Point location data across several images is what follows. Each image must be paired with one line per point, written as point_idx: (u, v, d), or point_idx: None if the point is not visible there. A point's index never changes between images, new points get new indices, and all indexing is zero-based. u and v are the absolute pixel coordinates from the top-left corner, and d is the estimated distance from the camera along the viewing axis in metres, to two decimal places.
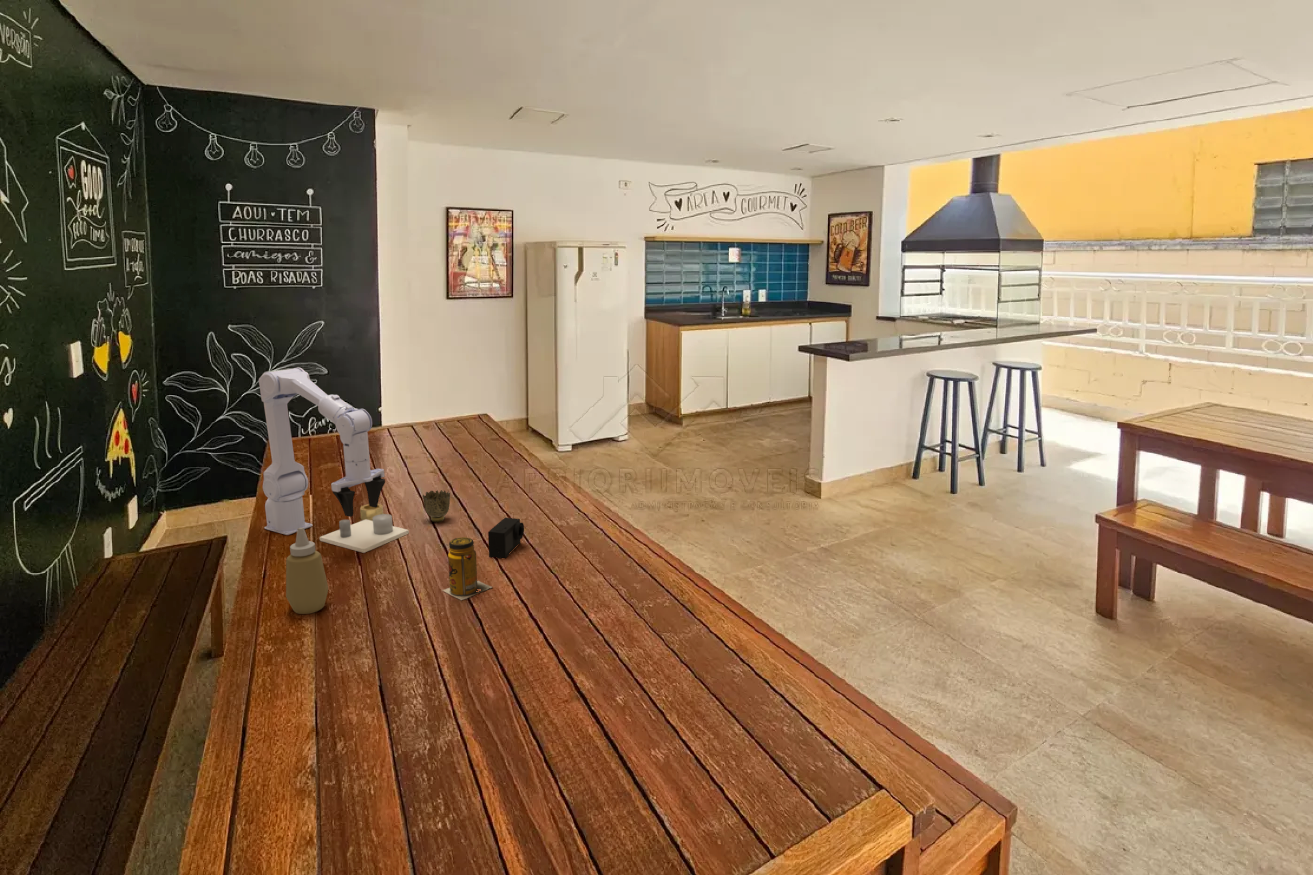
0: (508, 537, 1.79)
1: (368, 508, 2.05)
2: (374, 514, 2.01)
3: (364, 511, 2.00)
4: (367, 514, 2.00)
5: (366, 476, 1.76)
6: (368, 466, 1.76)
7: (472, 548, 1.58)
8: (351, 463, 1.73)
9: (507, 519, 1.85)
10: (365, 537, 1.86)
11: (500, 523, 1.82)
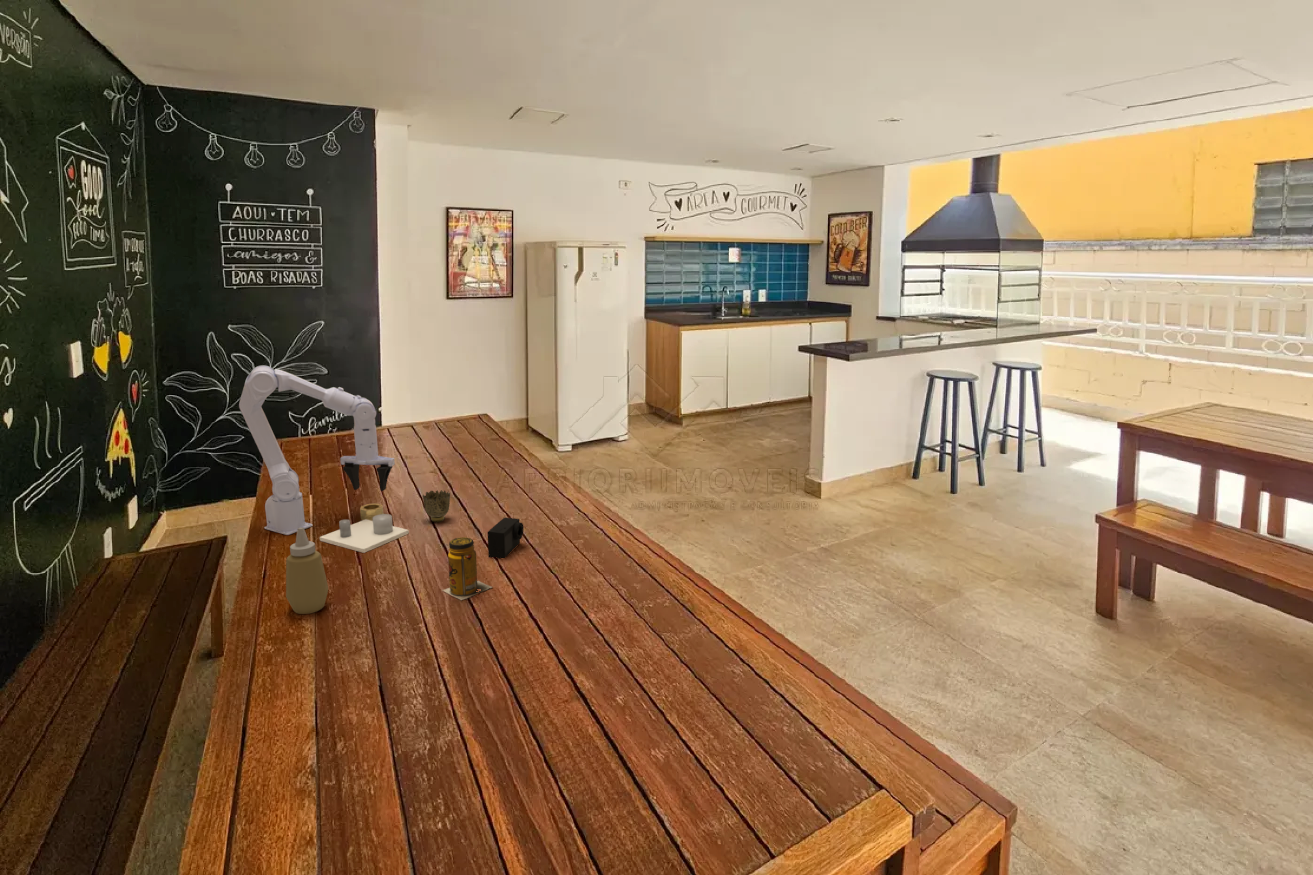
0: (507, 537, 1.79)
1: (368, 508, 2.05)
2: (374, 514, 2.01)
3: (364, 511, 2.00)
4: (367, 514, 2.00)
5: (362, 459, 1.96)
6: (365, 451, 1.96)
7: (472, 548, 1.58)
8: (355, 444, 1.97)
9: (507, 519, 1.85)
10: (365, 537, 1.86)
11: (499, 523, 1.82)
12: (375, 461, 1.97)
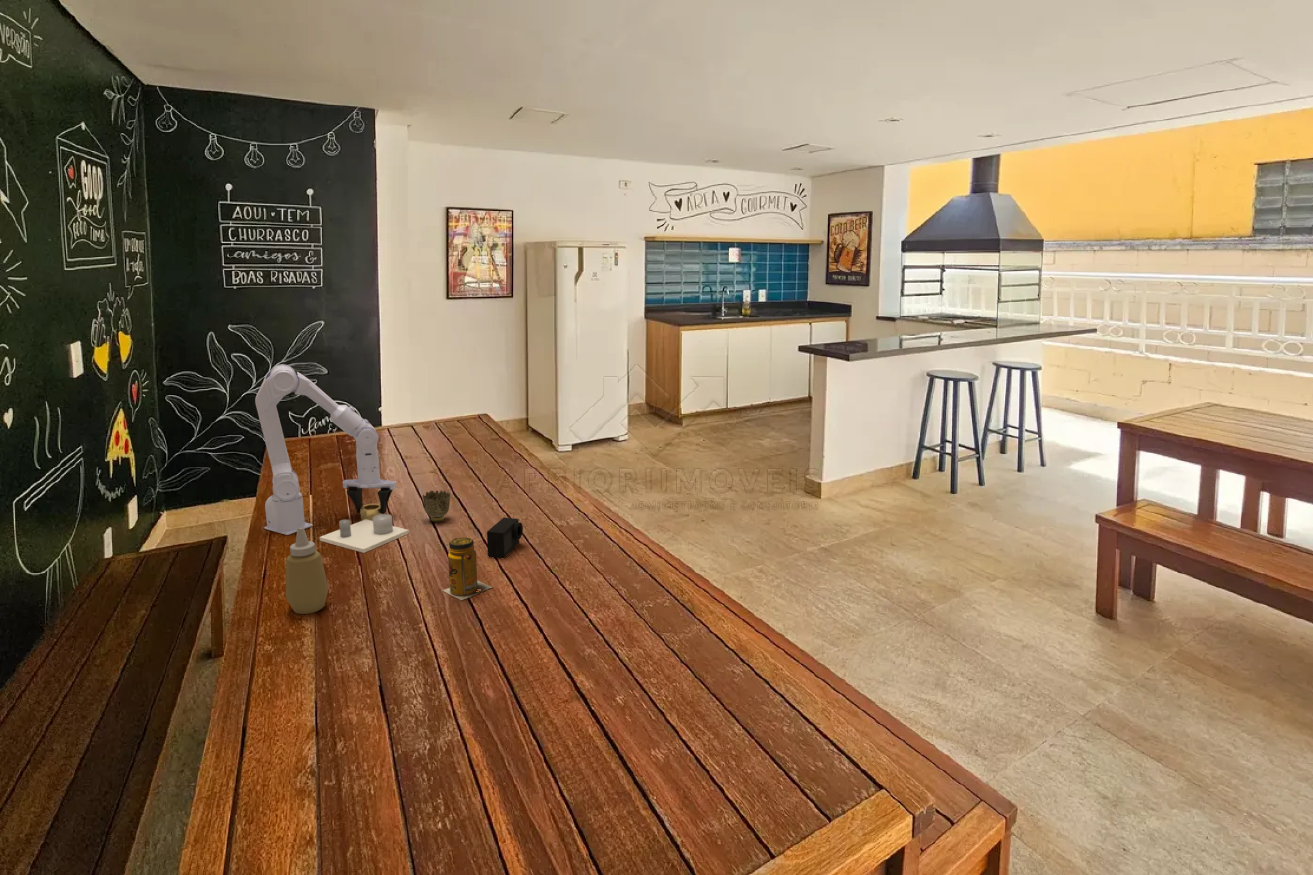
0: (507, 537, 1.79)
1: (368, 508, 2.05)
2: (374, 514, 2.01)
3: (364, 511, 2.00)
4: (367, 514, 2.00)
5: (364, 483, 1.98)
6: (368, 475, 1.98)
7: (472, 548, 1.58)
8: (357, 468, 1.99)
9: (506, 519, 1.85)
10: (365, 537, 1.86)
11: (499, 523, 1.82)
12: (377, 485, 1.99)
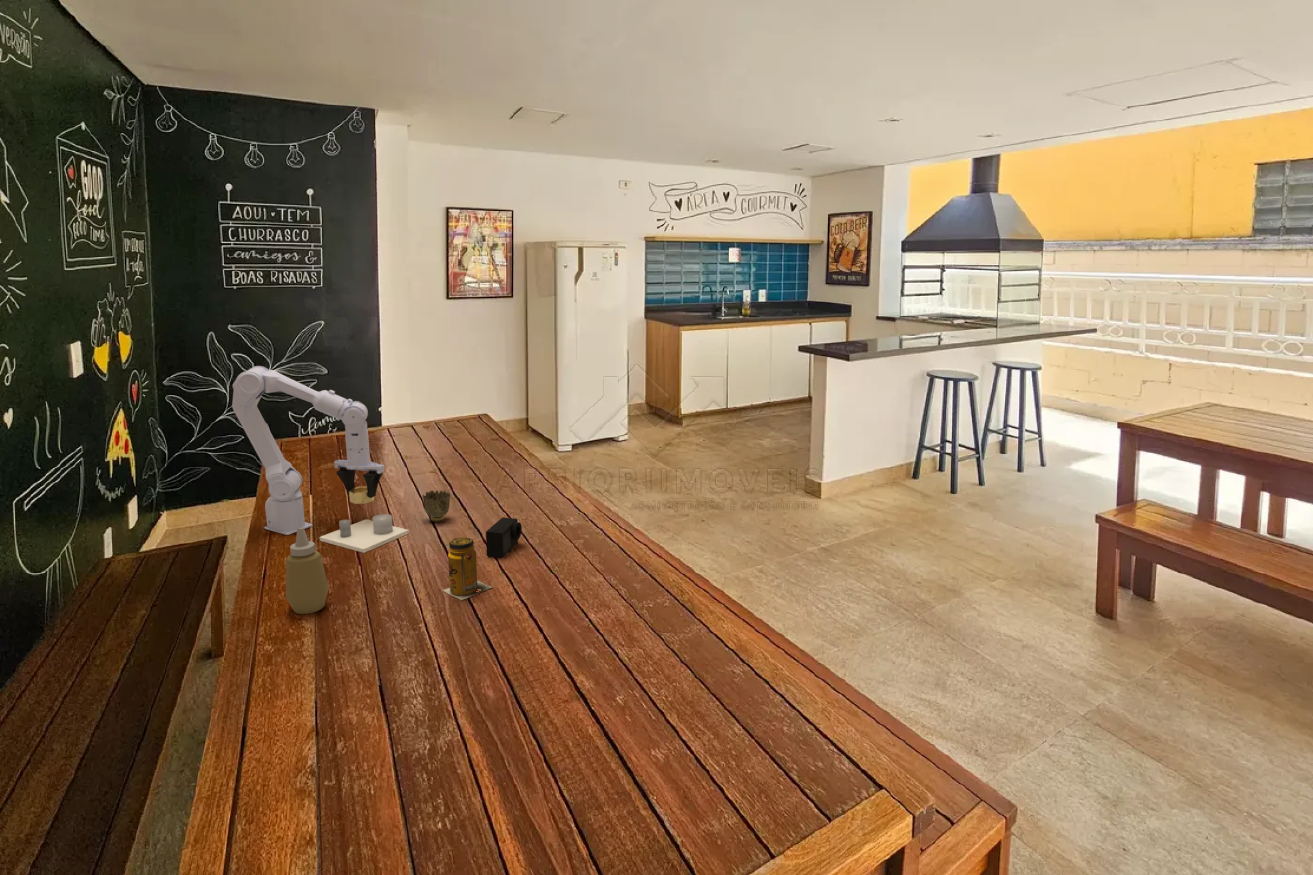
0: (506, 537, 1.79)
1: (360, 491, 1.98)
2: (361, 497, 1.94)
3: (352, 493, 1.94)
4: (354, 496, 1.93)
5: (351, 464, 1.91)
6: (354, 456, 1.91)
7: (472, 548, 1.58)
8: None
9: (505, 519, 1.85)
10: (365, 537, 1.86)
11: (498, 523, 1.82)
12: (364, 467, 1.91)
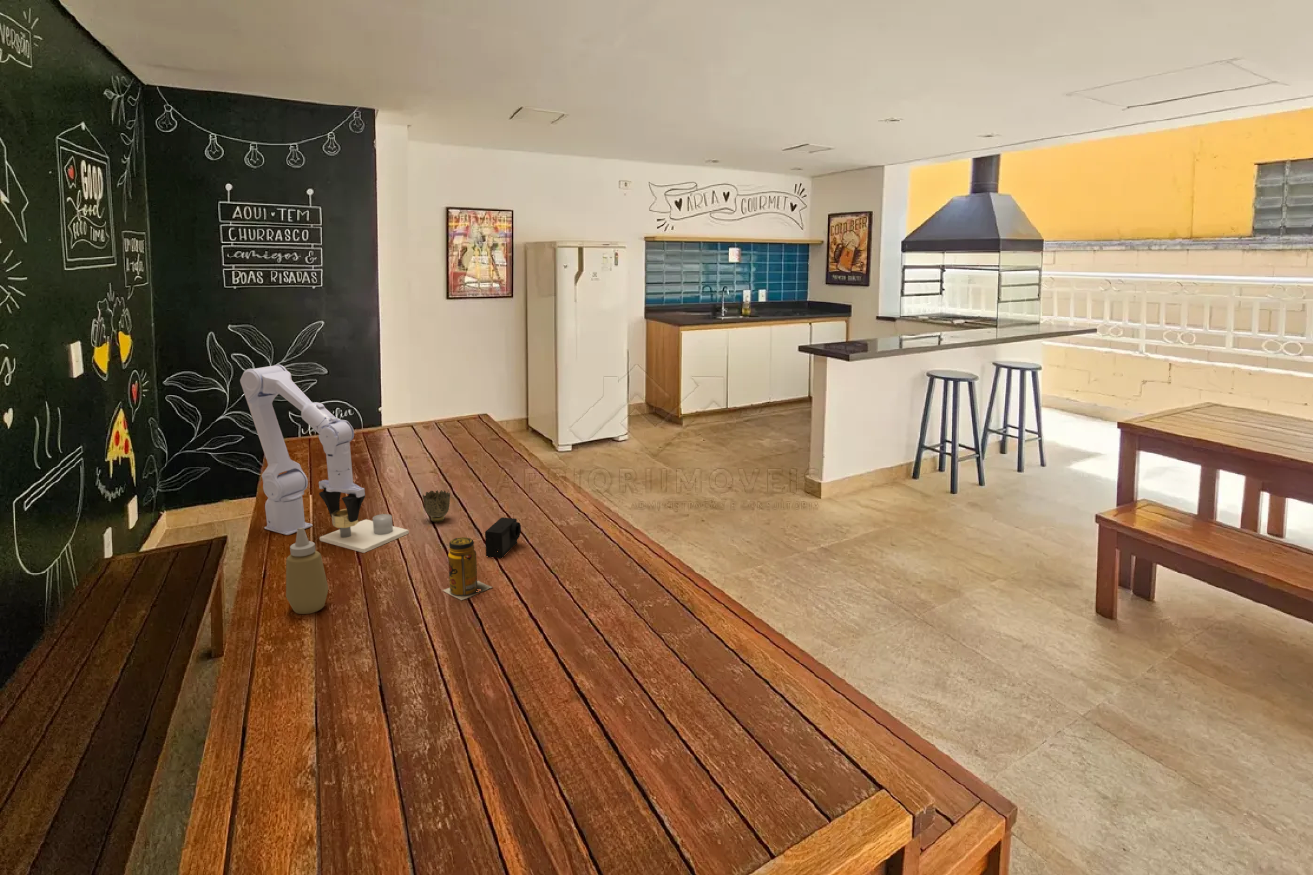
0: (505, 537, 1.79)
1: (344, 513, 1.88)
2: (342, 521, 1.83)
3: (333, 516, 1.84)
4: (335, 520, 1.83)
5: (331, 486, 1.81)
6: (334, 478, 1.81)
7: (472, 548, 1.58)
8: None
9: (504, 519, 1.85)
10: (365, 537, 1.86)
11: (497, 523, 1.82)
12: (343, 490, 1.81)
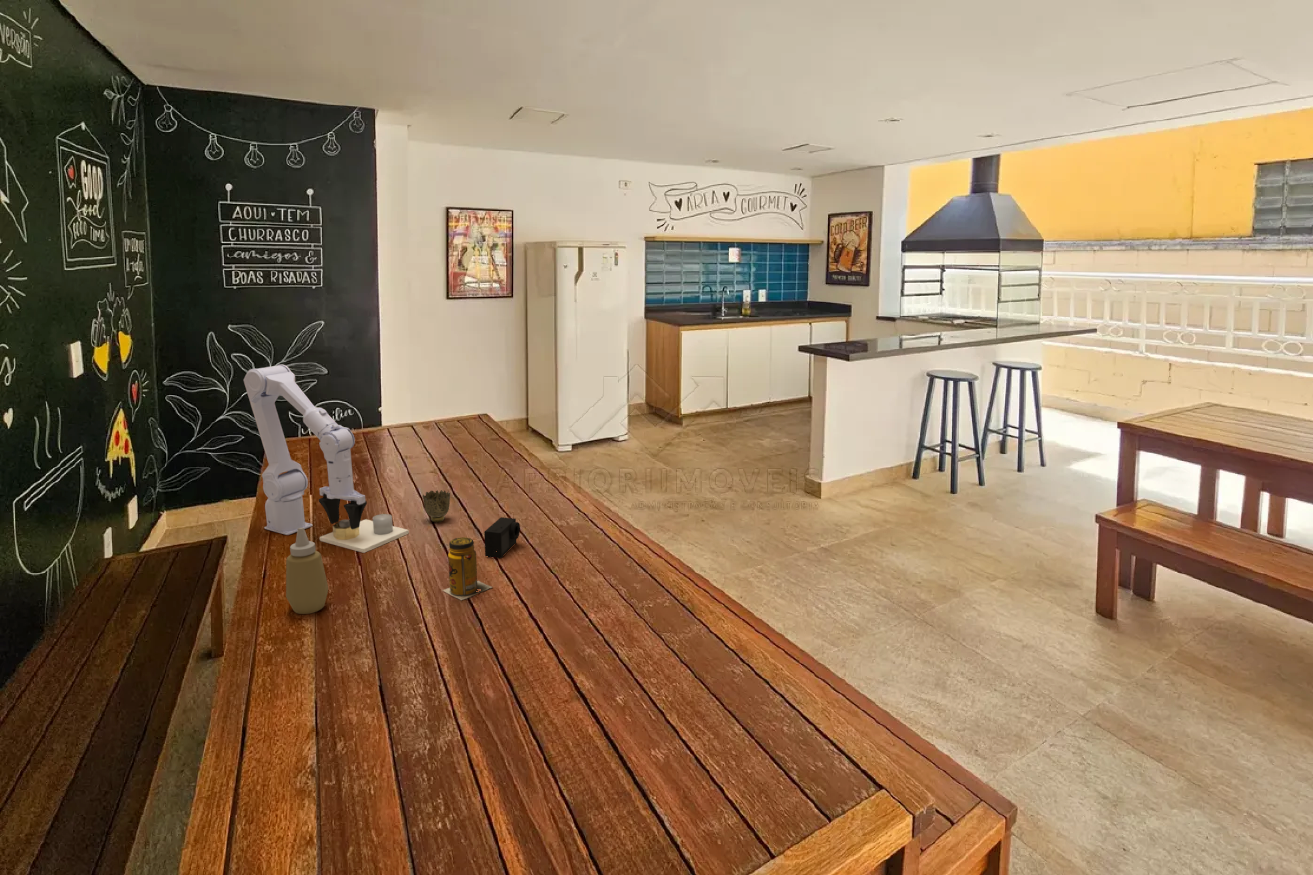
0: (504, 537, 1.79)
1: None
2: (344, 533, 1.84)
3: (334, 528, 1.85)
4: (336, 532, 1.84)
5: (332, 493, 1.82)
6: (334, 485, 1.81)
7: (472, 548, 1.58)
8: None
9: (503, 519, 1.85)
10: (365, 537, 1.86)
11: (496, 523, 1.83)
12: (344, 497, 1.81)
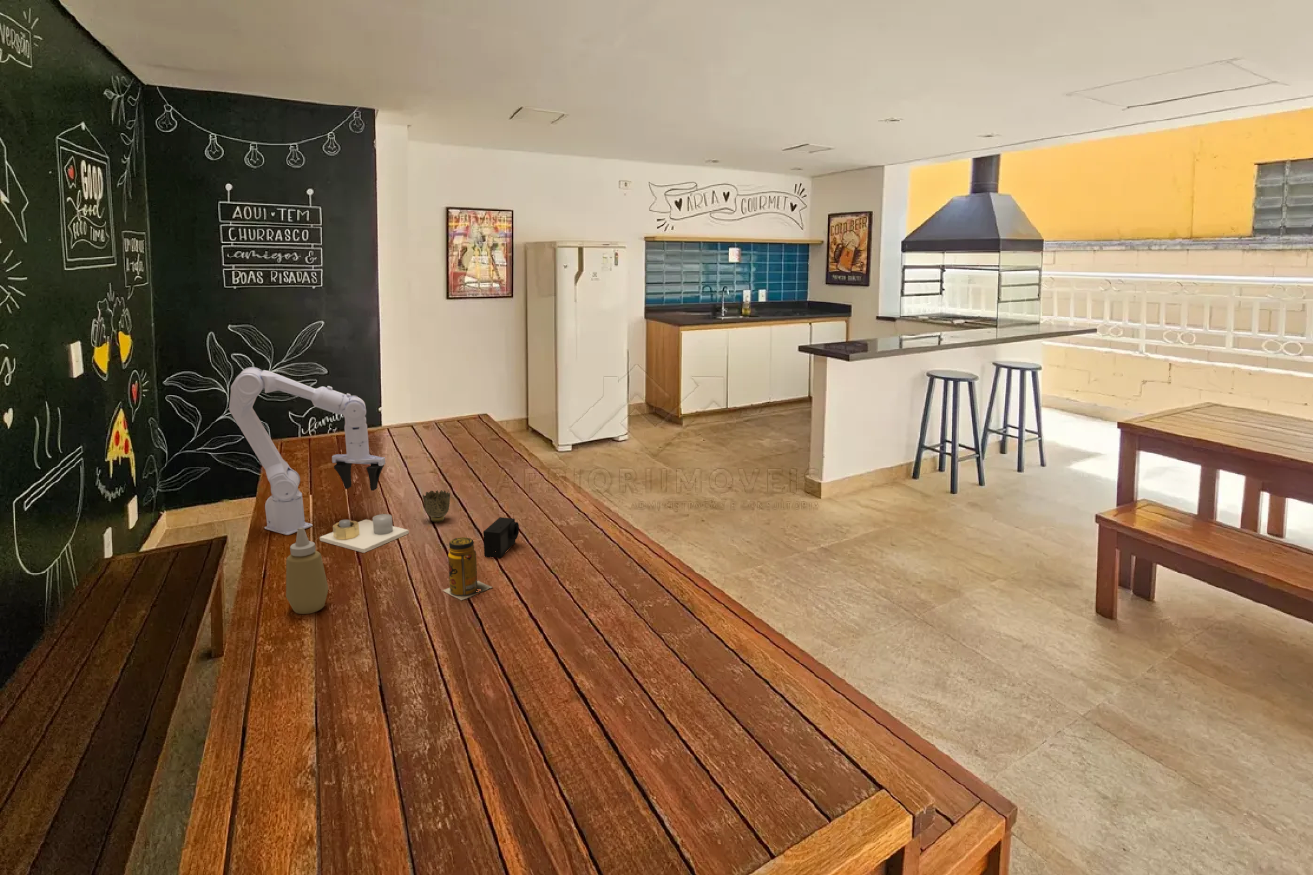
0: (503, 537, 1.79)
1: None
2: (344, 533, 1.84)
3: (334, 528, 1.85)
4: (336, 532, 1.84)
5: (352, 458, 1.93)
6: (355, 450, 1.93)
7: (472, 548, 1.58)
8: None
9: (502, 519, 1.85)
10: (365, 537, 1.86)
11: (495, 523, 1.83)
12: (365, 460, 1.94)
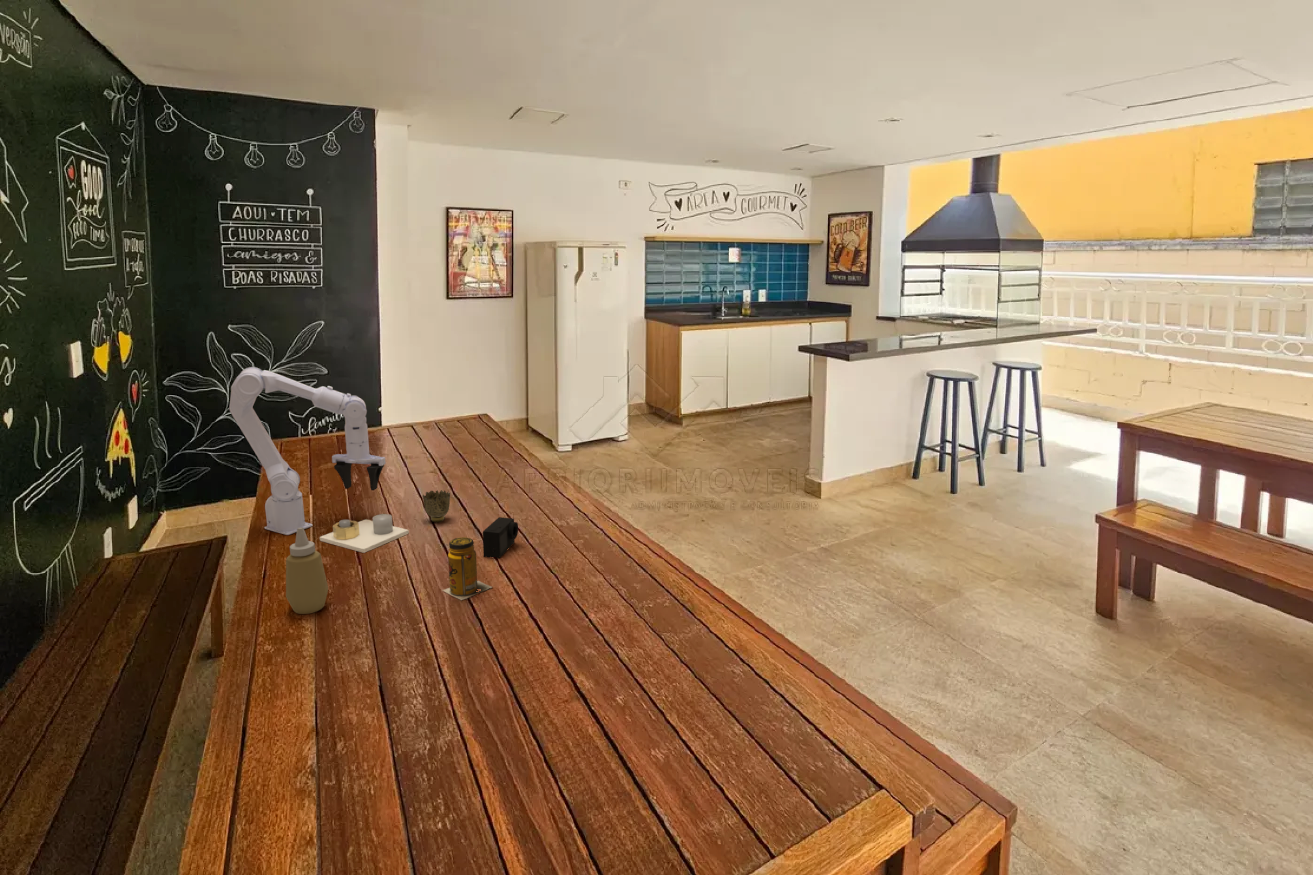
0: (503, 537, 1.79)
1: None
2: (344, 533, 1.84)
3: (334, 528, 1.85)
4: (336, 532, 1.84)
5: (352, 458, 1.94)
6: (355, 449, 1.93)
7: (472, 548, 1.58)
8: None
9: (501, 519, 1.85)
10: (365, 537, 1.86)
11: (494, 523, 1.83)
12: (365, 460, 1.94)
